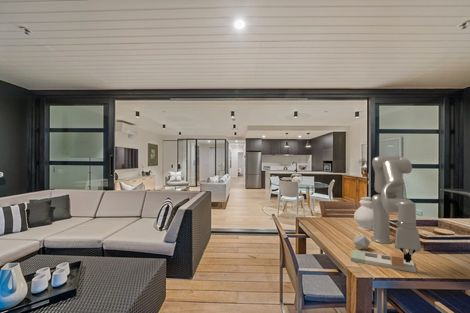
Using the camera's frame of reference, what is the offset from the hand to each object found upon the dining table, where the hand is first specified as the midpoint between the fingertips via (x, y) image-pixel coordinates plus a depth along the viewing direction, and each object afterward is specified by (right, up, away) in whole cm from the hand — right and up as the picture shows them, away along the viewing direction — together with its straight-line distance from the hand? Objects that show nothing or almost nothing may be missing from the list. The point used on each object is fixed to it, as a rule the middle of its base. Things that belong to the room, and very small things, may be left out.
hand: (407, 261), depth 122 cm
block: (-4, -2, +1) cm, 5 cm away
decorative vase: (+19, -5, +73) cm, 76 cm away
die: (-8, -5, +29) cm, 30 cm away
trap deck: (-8, -4, +9) cm, 13 cm away
